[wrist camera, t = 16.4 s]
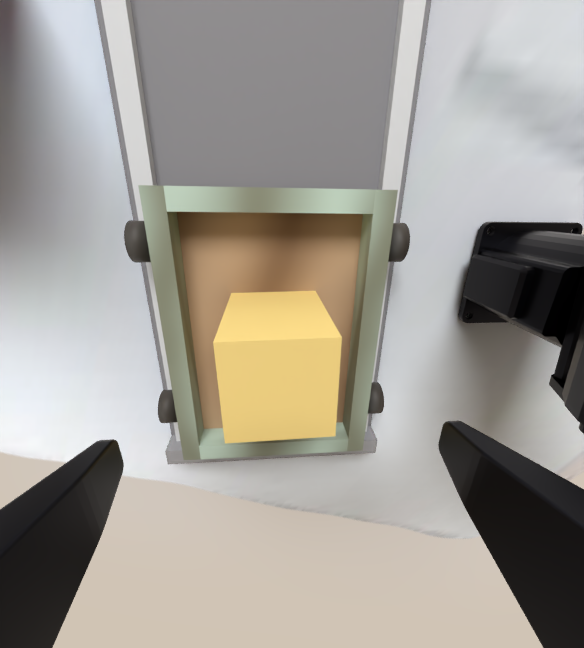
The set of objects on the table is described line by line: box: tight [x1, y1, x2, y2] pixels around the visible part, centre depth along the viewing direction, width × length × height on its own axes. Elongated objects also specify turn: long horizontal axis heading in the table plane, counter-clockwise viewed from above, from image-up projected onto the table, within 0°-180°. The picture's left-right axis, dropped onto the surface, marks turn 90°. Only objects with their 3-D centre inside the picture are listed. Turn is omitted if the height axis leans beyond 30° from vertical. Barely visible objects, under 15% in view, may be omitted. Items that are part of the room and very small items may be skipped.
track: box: [94, 0, 431, 464], centre depth 17 cm, size 15×28×2 cm, turn 179°
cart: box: [124, 185, 410, 460], centre depth 17 cm, size 14×15×3 cm
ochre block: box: [213, 291, 342, 443], centre depth 14 cm, size 4×4×6 cm
